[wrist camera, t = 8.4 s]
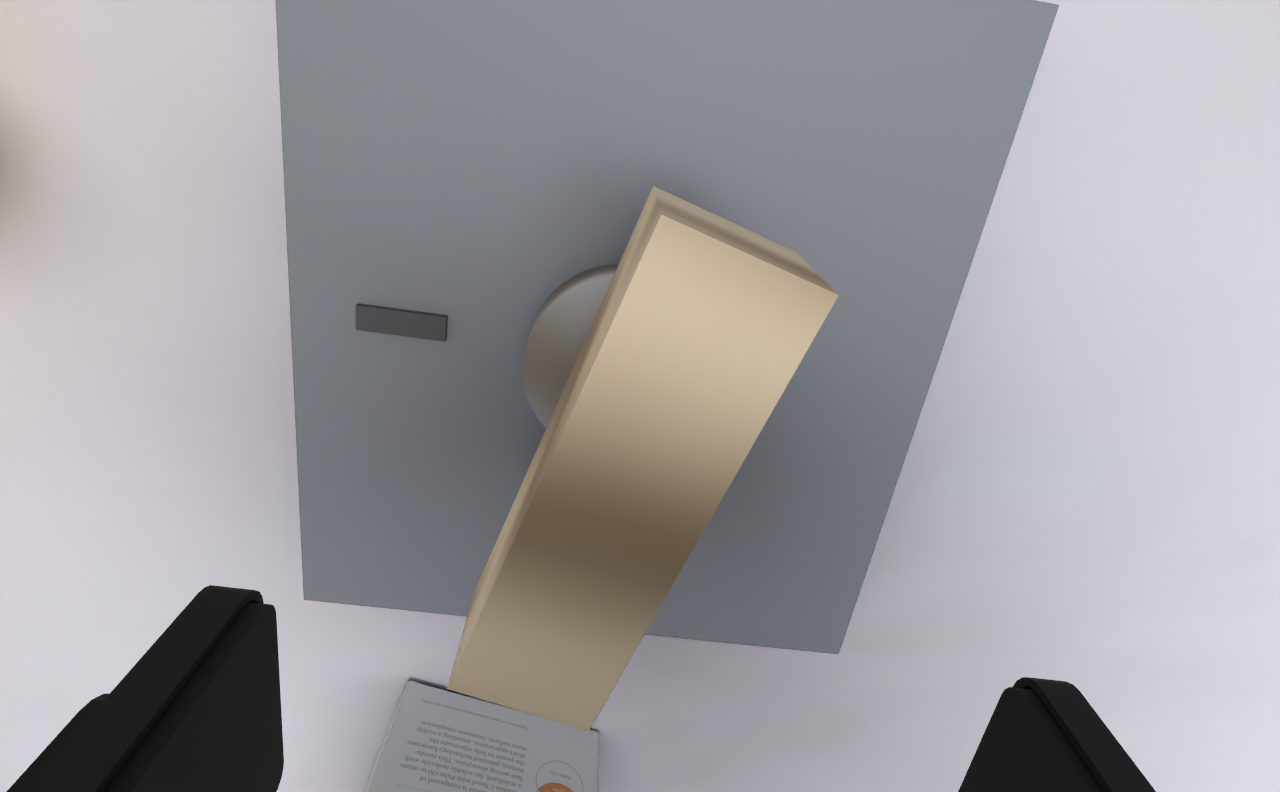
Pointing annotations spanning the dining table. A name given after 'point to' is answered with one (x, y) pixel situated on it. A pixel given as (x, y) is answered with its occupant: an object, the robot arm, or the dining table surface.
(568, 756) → the small box
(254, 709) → the robot arm
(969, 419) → the dining table surface
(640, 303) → the t key
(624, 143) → the plate
